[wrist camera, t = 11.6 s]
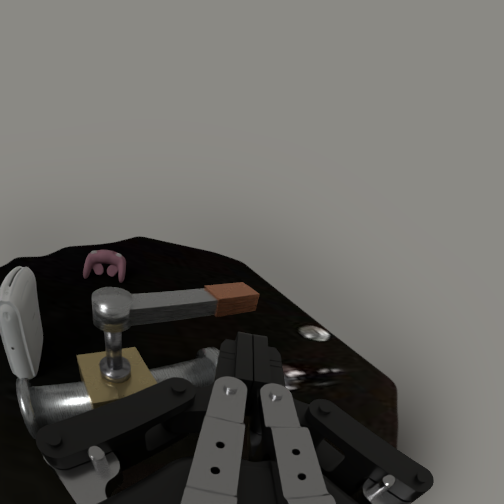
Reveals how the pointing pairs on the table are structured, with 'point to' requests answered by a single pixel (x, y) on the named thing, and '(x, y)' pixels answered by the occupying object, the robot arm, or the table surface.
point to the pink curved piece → (105, 257)
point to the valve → (106, 382)
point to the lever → (168, 305)
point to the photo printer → (21, 322)
